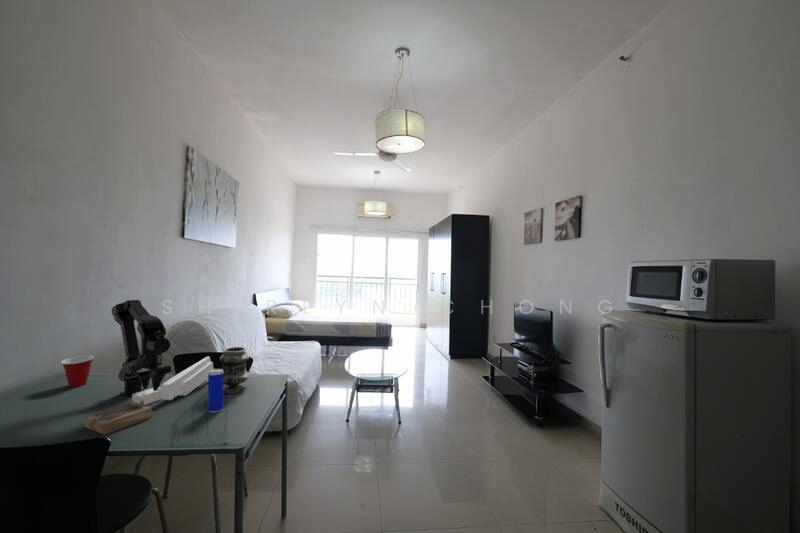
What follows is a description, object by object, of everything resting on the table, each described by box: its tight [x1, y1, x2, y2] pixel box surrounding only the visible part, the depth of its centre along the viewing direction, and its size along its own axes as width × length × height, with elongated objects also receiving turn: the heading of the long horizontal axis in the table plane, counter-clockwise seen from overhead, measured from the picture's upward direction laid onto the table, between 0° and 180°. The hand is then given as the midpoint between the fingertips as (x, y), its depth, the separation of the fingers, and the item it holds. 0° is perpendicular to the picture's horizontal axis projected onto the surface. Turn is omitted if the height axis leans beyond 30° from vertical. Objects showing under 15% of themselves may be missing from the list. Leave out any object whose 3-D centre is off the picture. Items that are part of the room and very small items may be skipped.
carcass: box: [84, 401, 153, 436], centre depth 118 cm, size 12×14×5 cm
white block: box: [131, 386, 163, 406], centre depth 137 cm, size 6×9×4 cm, turn 159°
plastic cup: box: [60, 354, 95, 388], centre depth 152 cm, size 11×11×12 cm
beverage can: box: [207, 368, 225, 413], centre depth 129 cm, size 5×5×15 cm
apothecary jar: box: [219, 346, 250, 394], centre depth 150 cm, size 12×12×18 cm
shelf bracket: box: [159, 356, 215, 401], centre depth 147 cm, size 6×25×13 cm, turn 171°
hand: (150, 389), depth 136 cm, fingers open, 6 cm apart
